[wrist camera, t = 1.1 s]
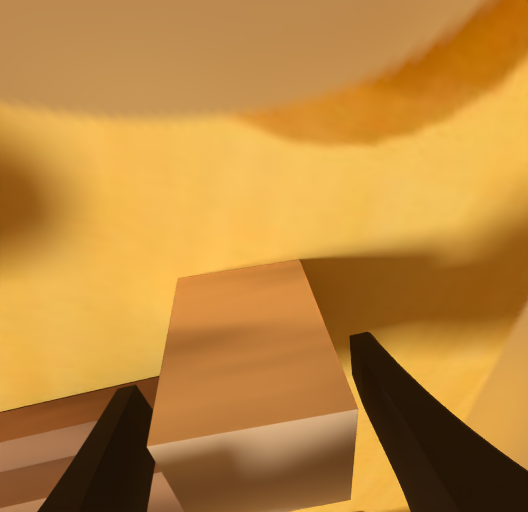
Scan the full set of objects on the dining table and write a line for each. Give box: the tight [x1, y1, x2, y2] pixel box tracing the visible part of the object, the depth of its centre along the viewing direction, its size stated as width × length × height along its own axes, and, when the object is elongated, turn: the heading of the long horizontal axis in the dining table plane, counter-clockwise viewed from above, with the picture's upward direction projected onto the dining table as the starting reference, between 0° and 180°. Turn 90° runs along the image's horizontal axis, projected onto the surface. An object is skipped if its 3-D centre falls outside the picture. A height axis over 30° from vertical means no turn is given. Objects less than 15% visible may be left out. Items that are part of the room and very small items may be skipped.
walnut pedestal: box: [0, 376, 185, 512], centre depth 16 cm, size 12×12×3 cm
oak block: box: [147, 259, 358, 512], centre depth 11 cm, size 4×4×6 cm
